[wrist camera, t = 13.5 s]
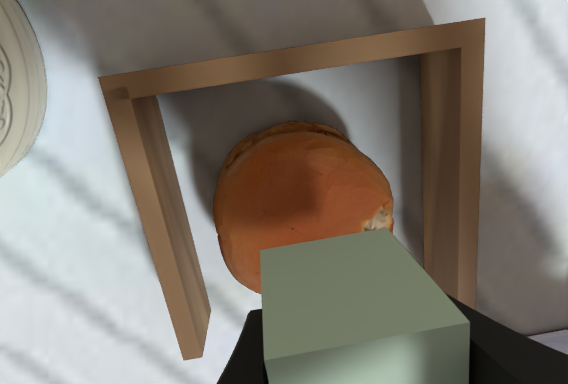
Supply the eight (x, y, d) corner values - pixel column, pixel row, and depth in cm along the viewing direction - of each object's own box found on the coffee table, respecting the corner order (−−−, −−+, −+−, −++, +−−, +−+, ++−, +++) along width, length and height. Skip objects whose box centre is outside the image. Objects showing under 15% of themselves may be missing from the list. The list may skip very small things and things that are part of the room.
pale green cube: (387, 227, 12) (469, 322, 8) (393, 331, 14) (466, 465, 9) (259, 250, 12) (264, 360, 7) (280, 352, 14) (294, 499, 9)
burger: (187, 164, 20) (168, 189, 15) (339, 91, 19) (365, 96, 15) (263, 297, 23) (266, 350, 19) (396, 238, 22) (431, 278, 18)
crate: (437, 29, 18) (485, 17, 15) (439, 270, 23) (475, 308, 19) (131, 76, 18) (97, 77, 14) (195, 312, 23) (183, 360, 19)
